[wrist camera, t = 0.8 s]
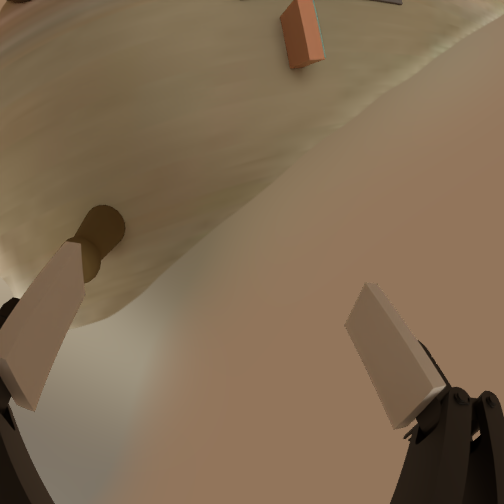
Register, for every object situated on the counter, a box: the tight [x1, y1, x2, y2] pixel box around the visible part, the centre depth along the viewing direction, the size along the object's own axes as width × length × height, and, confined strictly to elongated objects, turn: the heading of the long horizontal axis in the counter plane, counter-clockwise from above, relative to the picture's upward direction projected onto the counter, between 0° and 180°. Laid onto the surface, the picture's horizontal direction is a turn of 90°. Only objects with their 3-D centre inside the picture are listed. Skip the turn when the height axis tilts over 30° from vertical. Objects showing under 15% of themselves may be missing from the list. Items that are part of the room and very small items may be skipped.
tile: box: [280, 0, 326, 69], centre depth 25 cm, size 7×2×8 cm, turn 10°
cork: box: [67, 205, 125, 283], centre depth 32 cm, size 6×6×11 cm
